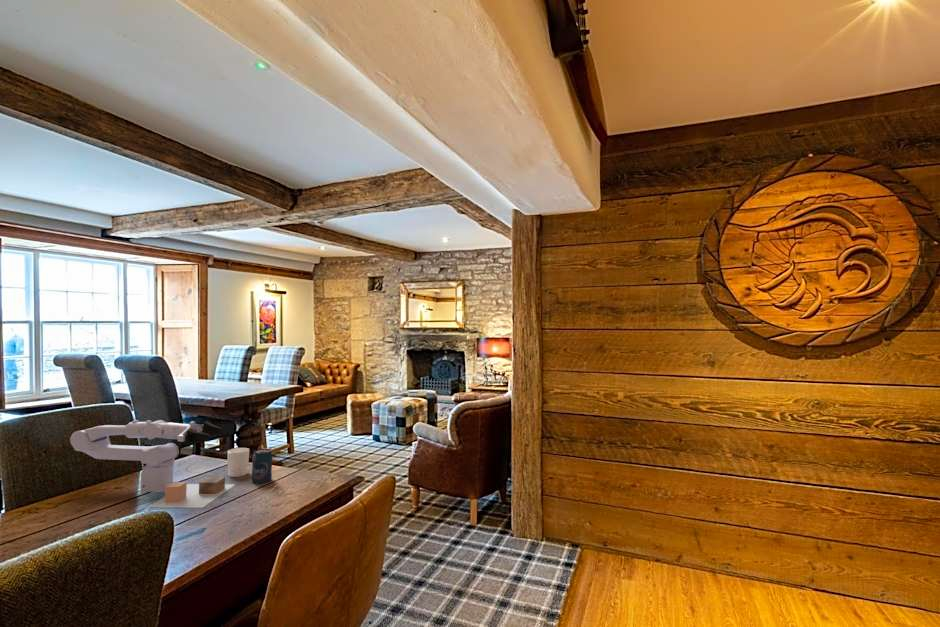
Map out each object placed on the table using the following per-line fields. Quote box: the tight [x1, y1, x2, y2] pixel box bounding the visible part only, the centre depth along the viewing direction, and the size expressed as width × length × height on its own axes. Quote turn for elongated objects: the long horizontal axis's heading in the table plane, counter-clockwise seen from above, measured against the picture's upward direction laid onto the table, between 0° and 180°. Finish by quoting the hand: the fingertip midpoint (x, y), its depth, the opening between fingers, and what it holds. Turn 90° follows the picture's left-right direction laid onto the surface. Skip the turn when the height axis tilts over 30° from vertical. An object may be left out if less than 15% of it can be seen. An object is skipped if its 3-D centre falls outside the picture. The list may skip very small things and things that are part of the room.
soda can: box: [251, 448, 273, 485], centre depth 174 cm, size 7×7×12 cm
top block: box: [164, 481, 188, 502], centre depth 154 cm, size 4×4×5 cm
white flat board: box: [147, 483, 237, 509], centre depth 158 cm, size 18×22×1 cm
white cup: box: [226, 447, 250, 478], centre depth 181 cm, size 8×8×10 cm
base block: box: [198, 476, 226, 494], centre depth 162 cm, size 6×6×4 cm
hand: (215, 434), depth 165 cm, fingers open, 7 cm apart
